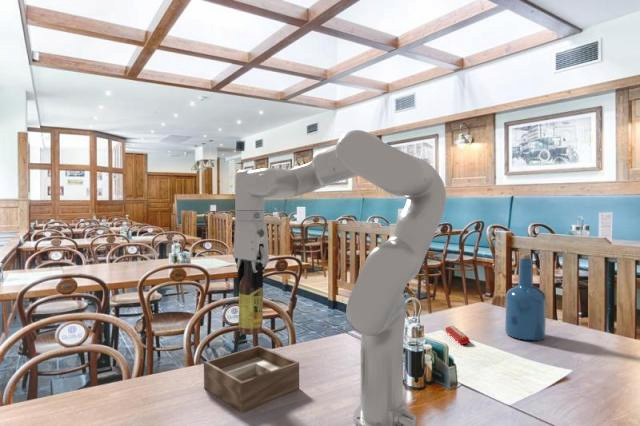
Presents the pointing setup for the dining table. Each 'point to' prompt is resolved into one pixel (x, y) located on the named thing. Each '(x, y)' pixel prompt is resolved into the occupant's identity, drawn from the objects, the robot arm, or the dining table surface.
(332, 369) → the dining table surface
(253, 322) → the sauce bottle
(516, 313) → the wine bottle
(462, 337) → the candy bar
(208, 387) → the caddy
